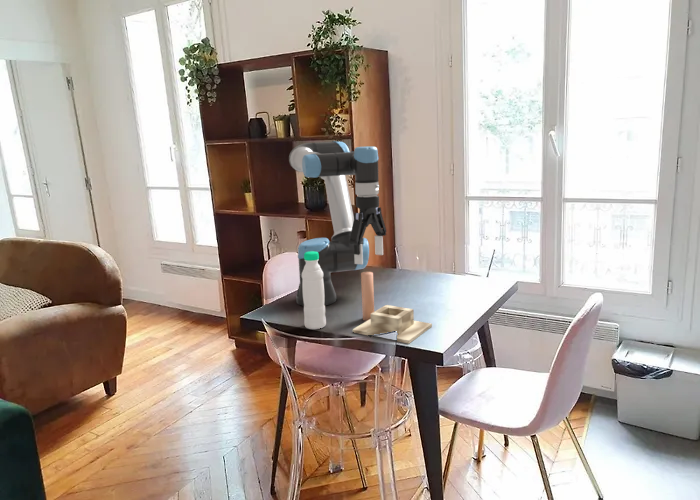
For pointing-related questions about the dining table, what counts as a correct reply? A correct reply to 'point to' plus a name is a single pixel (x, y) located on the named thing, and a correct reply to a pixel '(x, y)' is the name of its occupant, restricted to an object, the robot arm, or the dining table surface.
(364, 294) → the dowel
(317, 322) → the water bottle
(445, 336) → the dining table surface
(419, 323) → the socket block
